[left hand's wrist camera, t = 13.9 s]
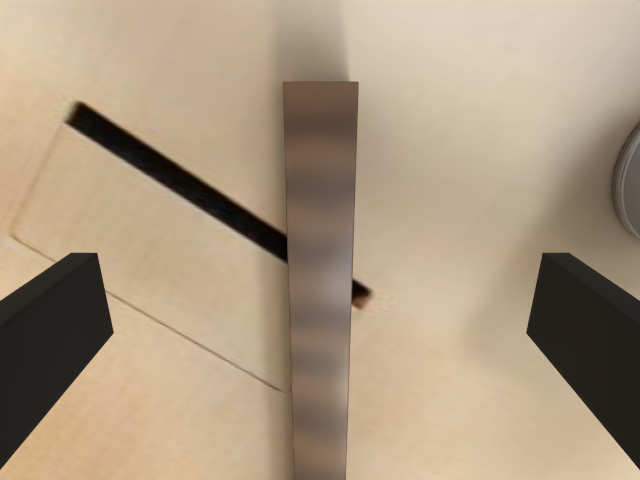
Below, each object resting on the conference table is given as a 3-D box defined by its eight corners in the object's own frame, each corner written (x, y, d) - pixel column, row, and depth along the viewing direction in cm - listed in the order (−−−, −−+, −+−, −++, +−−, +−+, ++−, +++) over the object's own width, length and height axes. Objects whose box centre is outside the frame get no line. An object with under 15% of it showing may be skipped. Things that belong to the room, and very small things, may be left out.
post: (290, 81, 34) (282, 81, 27) (350, 82, 34) (358, 81, 27) (303, 642, 63) (300, 716, 55) (335, 642, 63) (338, 716, 56)
